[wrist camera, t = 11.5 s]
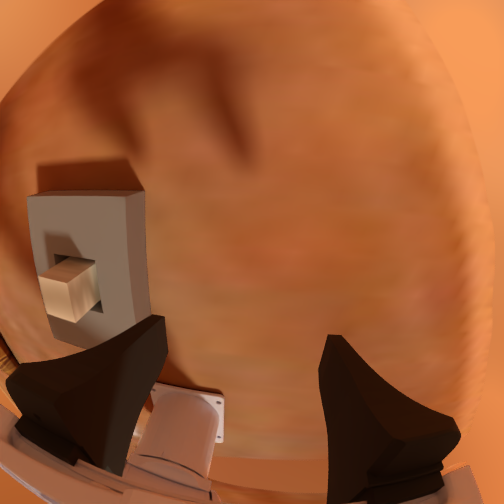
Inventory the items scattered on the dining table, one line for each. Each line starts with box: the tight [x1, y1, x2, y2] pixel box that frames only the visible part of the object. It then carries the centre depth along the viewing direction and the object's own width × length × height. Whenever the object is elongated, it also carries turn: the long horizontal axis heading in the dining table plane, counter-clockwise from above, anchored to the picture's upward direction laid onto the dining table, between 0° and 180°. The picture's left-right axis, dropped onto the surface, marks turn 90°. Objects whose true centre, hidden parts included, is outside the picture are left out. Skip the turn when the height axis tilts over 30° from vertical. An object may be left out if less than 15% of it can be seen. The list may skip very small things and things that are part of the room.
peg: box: [38, 256, 101, 323], centre depth 19 cm, size 3×3×6 cm
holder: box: [27, 190, 151, 349], centre depth 20 cm, size 14×11×3 cm
